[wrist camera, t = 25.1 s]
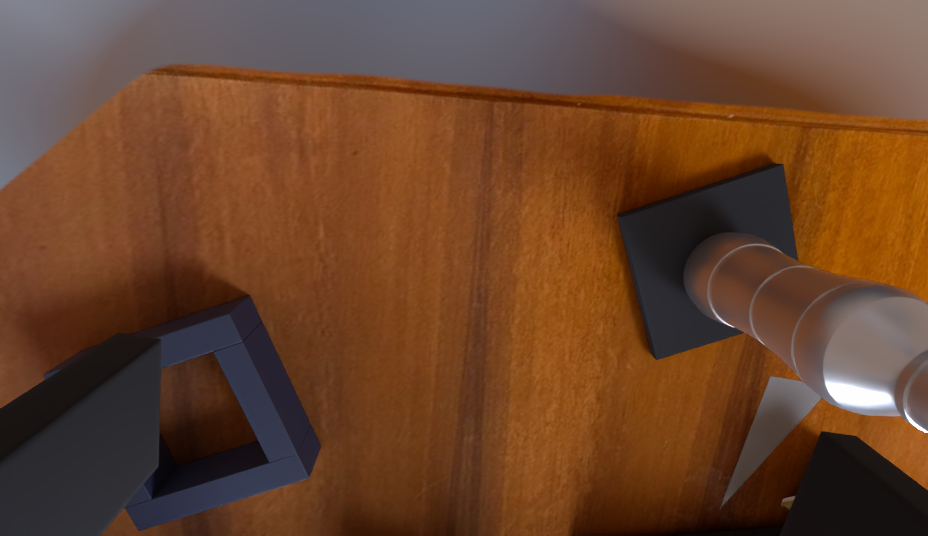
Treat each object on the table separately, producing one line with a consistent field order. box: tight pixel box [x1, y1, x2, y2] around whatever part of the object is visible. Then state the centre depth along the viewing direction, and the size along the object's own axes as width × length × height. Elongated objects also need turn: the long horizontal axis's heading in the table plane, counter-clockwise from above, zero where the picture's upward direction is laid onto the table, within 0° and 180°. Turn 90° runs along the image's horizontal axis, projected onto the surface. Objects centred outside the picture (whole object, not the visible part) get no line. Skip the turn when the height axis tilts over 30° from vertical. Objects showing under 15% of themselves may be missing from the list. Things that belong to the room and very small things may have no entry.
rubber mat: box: [617, 163, 798, 360], centre depth 39 cm, size 12×12×1 cm
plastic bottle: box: [683, 232, 928, 432], centre depth 29 cm, size 6×7×20 cm
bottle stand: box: [43, 295, 321, 531], centre depth 39 cm, size 14×14×4 cm
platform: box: [720, 376, 822, 511], centre depth 42 cm, size 12×18×7 cm, turn 169°
